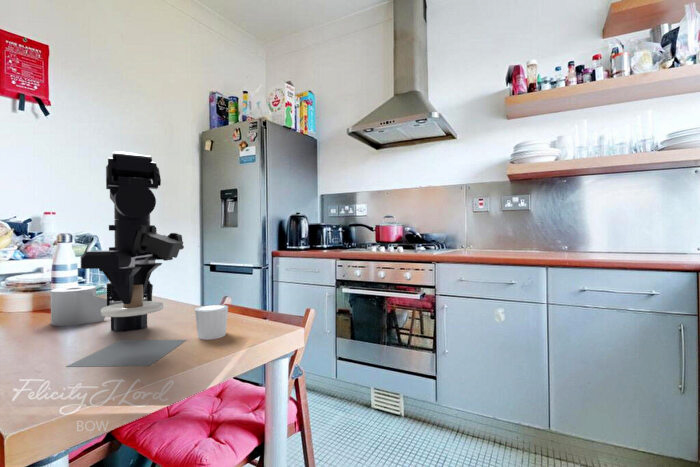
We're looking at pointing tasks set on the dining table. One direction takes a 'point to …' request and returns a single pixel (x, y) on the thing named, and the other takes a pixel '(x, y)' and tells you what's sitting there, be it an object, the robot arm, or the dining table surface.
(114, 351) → the mat
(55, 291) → the toilet tissue
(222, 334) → the white cup
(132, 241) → the robot arm
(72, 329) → the dining table surface
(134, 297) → the lid
